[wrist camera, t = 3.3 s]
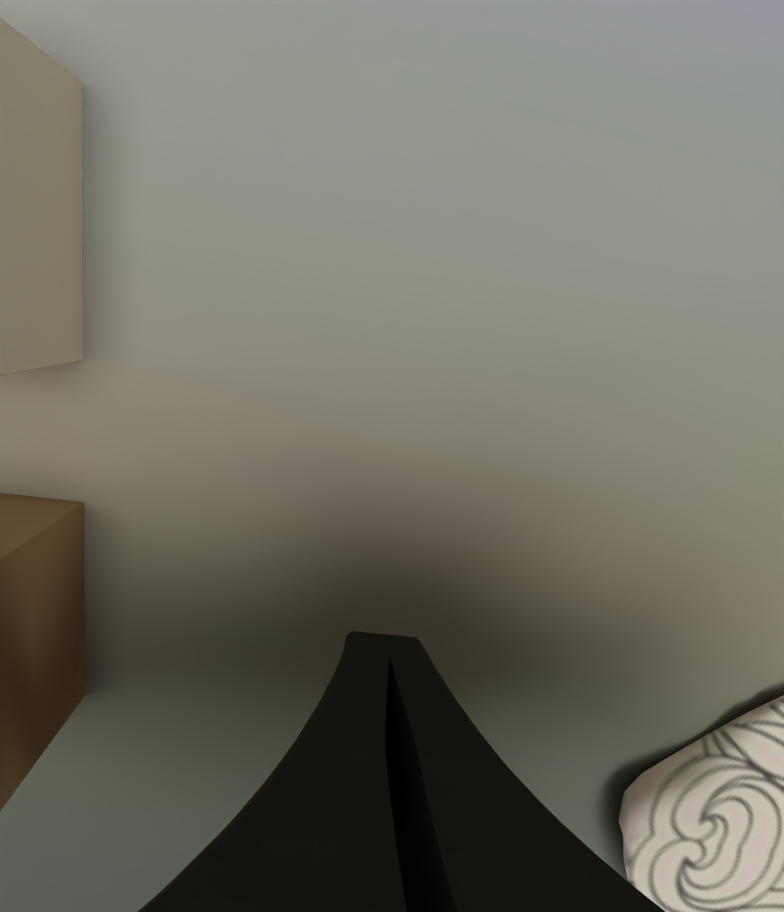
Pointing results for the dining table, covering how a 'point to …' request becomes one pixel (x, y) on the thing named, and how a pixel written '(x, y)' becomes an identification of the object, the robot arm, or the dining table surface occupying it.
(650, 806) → the cookie jar
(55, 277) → the cream block
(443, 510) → the dining table surface
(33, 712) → the walnut block
